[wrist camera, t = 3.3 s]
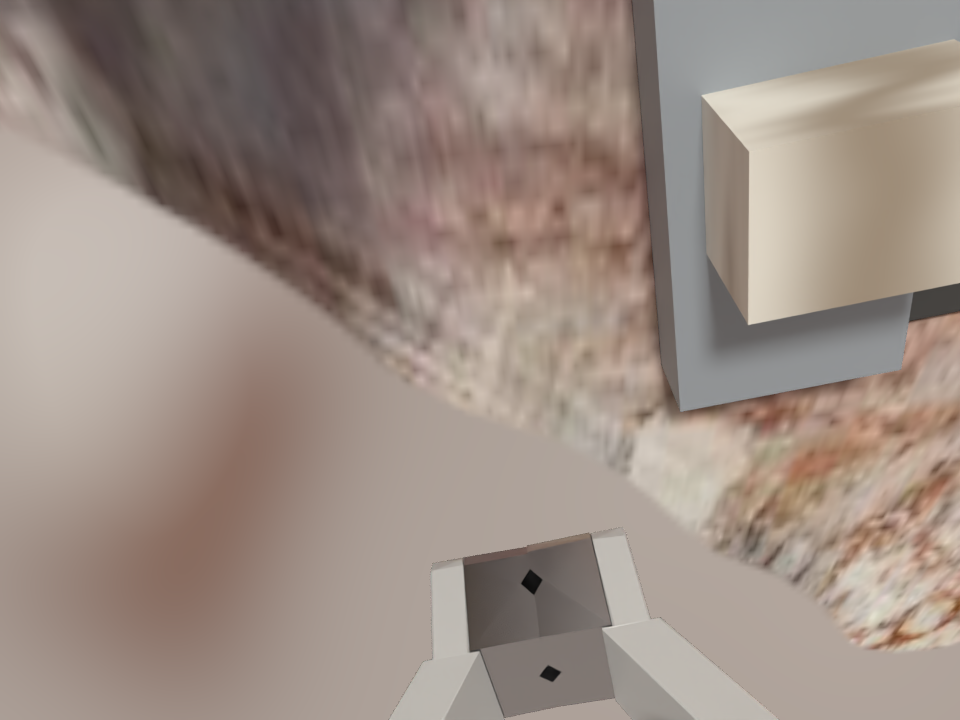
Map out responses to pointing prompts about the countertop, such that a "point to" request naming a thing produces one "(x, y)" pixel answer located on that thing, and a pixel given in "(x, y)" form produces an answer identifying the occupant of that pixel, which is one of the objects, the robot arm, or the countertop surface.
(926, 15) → the track
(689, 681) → the robot arm
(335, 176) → the countertop surface
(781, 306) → the cream block
